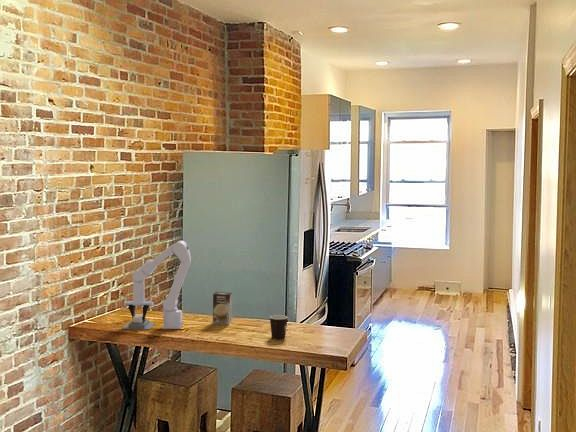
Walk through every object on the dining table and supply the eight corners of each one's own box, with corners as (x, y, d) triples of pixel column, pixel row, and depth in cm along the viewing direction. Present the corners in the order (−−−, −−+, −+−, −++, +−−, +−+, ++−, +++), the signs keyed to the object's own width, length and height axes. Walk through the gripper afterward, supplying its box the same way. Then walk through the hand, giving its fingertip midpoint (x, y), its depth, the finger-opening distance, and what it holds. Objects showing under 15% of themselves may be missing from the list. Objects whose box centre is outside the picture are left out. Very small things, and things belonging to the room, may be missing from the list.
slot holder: (155, 323, 338) (155, 318, 338) (149, 330, 325) (150, 325, 325) (128, 323, 338) (128, 318, 338) (121, 329, 325) (121, 324, 325)
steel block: (141, 326, 329) (141, 317, 328) (132, 326, 329) (132, 316, 328) (144, 323, 336) (144, 314, 335) (136, 323, 336) (136, 313, 335)
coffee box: (211, 324, 339) (212, 293, 338) (214, 321, 345) (214, 291, 344) (229, 325, 338) (229, 294, 337) (231, 322, 344) (232, 292, 343)
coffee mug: (277, 334, 322) (277, 314, 321) (290, 337, 316) (291, 317, 316) (261, 338, 313) (261, 318, 312) (275, 342, 308) (275, 321, 307)
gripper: (154, 292, 334) (154, 318, 336) (126, 291, 335) (126, 317, 336) (152, 294, 327) (151, 321, 329) (123, 294, 327) (123, 320, 329)
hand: (138, 319), depth 332 cm, fingers closed on steel block, 4 cm apart
